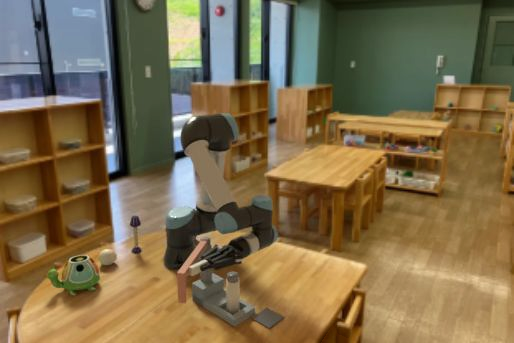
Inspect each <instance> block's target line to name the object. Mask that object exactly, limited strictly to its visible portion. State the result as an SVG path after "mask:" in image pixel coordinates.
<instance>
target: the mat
mask: <svg viewBox="0 0 514 343" xmlns="http://www.w3.org/2000/svg"><path fill="white" fill-rule="evenodd" d="M250 317H251V318H250V319H252V320H253V321H255V322H256V323H258V324H260V325H261V326H263V327H265V328H267V329H268V330H270V329H271V328H273V327H275V325H277V324H278V323H280V322H281V321H282V320H284V319H285V316H284V315H282V314H280V313H278V312H277V311H275V310H273V309H271V308H269V307H265V308H263V309H262V310H260V311H258V312H257V313H255V314H253V315H252V316H250Z"/></svg>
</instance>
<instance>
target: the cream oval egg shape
mask: <svg viewBox="0 0 514 343" xmlns="http://www.w3.org/2000/svg"><path fill="white" fill-rule="evenodd" d="M117 258H118V257H117V252H115V250H113V249H110V248H106V249H102V250H101V251H100V253H99V254H98V261H99V263H100V264H101V265H102V266H106V267H107V266H111V265H113V263H115V262H116V261H117V260H118V259H117Z"/></svg>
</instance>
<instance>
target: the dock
mask: <svg viewBox="0 0 514 343" xmlns="http://www.w3.org/2000/svg"><path fill="white" fill-rule="evenodd" d="M210 249H212V245H211V246H210V247H207V248H206V250H205V251H204V253H206V252H207V251H209V250H210ZM204 253H203V254H204ZM203 254H202V255H203ZM199 261H201V257H200V258H199ZM199 275H200V276H199V278H200V279H197V280H196V281H194V282H192V283H191V288H192V290H191V292H192V293H191V295H192V301H193V302H195V303H197V304H198V305H199V306H201V307H203V308H204V309H206V310H207V311H209V312H211V314H214V315H215V316H217V317H219V318H220V319H222V320H223V321H224V322H225V321H226V323H228V324H230V325H231V326H233V327H237V326H238V325H239V324H241V323H243V322H244V321H246V320H247V319H249V318H250V317H253V316H254V315H256V306H254V305H252V304H251V303H248V302H247V301H245V300H244V299H241V298H240V299H239V311H238V312H237V313H235V314H234V315H232V314H230V313H229V312H227V311H226V289H225V287H224V286H225V284H224V283H225V282H224V281H225V278H224V277H221V276H220V275H217V274H216V273H214V272H213V268H212V269H207V270H205V271H202V272H200V273H199Z"/></svg>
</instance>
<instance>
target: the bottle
mask: <svg viewBox="0 0 514 343" xmlns="http://www.w3.org/2000/svg"><path fill="white" fill-rule="evenodd" d="M239 275H240V274H239V272H237V271H229V272H227V273H226V279H225V285H226V286H225V290H226V309H225V311H227V312H229V313H230V314H232V315H234V314H235V313H237V312H238V311H240V308H239V299H241V298H240V287H241V286H240V284H241V283H240V278H239V277H240V276H239Z"/></svg>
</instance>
